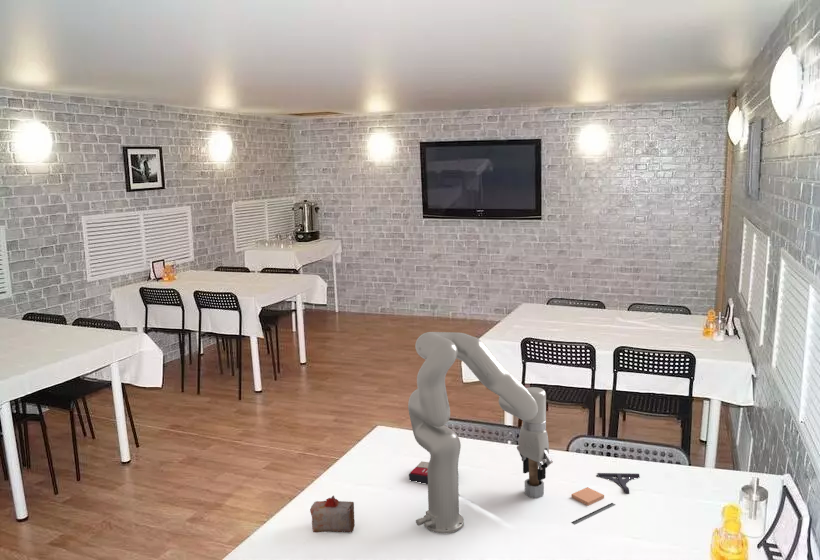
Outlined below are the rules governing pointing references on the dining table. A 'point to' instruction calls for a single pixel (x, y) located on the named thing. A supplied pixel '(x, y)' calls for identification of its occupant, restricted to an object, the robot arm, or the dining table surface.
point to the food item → (332, 516)
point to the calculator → (420, 473)
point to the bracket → (619, 479)
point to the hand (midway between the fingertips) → (534, 475)
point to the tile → (587, 496)
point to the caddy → (534, 489)
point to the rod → (533, 473)
